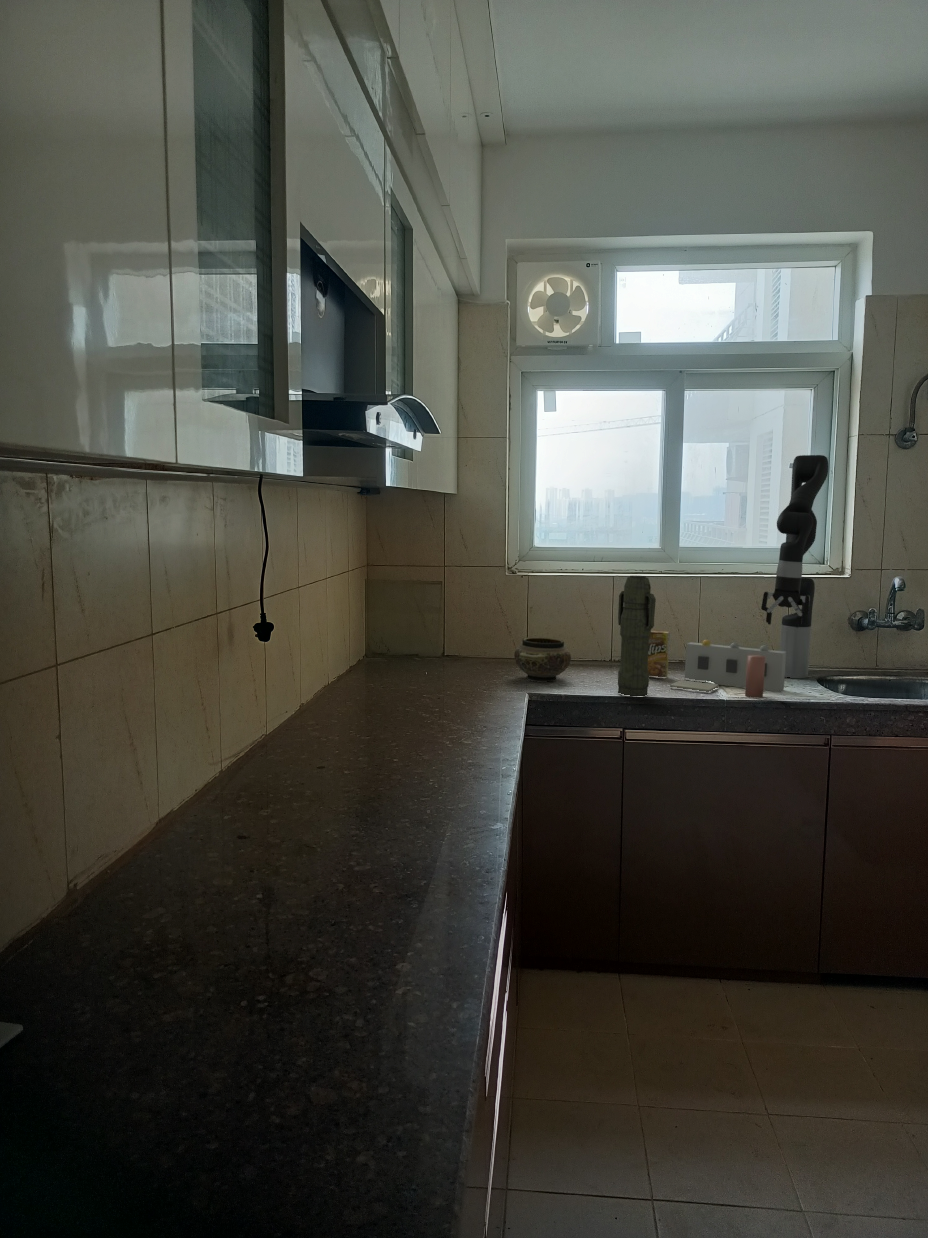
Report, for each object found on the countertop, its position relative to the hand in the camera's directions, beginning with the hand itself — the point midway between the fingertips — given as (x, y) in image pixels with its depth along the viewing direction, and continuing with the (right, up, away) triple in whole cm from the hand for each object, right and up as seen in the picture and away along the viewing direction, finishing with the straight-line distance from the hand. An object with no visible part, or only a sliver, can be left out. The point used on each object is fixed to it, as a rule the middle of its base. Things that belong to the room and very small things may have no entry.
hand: (783, 625), depth 276 cm
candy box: (-40, -17, +7) cm, 44 cm away
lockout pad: (-31, -19, -10) cm, 38 cm away
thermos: (-52, -20, -20) cm, 59 cm away
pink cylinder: (-16, -21, -20) cm, 33 cm away
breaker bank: (-17, -19, -3) cm, 26 cm away
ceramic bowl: (-77, -17, -1) cm, 79 cm away
